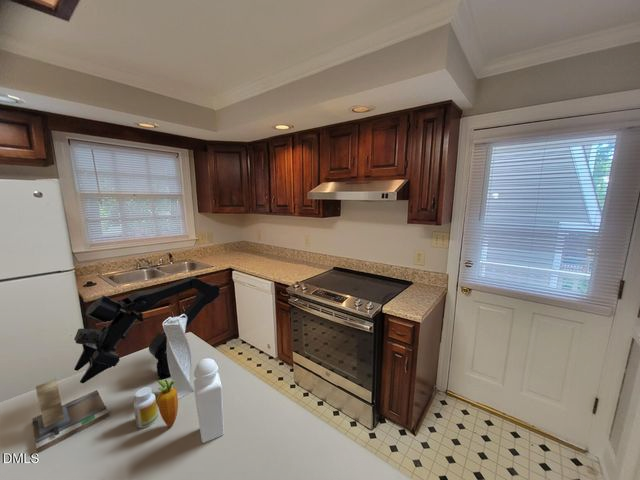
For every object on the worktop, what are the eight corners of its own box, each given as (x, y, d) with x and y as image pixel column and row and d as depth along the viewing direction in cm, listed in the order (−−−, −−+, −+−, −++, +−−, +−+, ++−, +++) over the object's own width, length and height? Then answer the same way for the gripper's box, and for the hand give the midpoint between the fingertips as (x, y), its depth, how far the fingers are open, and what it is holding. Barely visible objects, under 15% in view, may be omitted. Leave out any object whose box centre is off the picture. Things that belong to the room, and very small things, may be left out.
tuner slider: (66, 408, 81) (59, 374, 79) (72, 429, 74) (65, 391, 72) (37, 421, 77) (29, 385, 75) (41, 444, 69) (33, 405, 68)
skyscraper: (199, 391, 90) (191, 313, 86) (176, 403, 85) (166, 321, 80) (190, 380, 96) (182, 307, 91) (167, 391, 90) (157, 314, 86)
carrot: (184, 421, 78) (179, 375, 75) (170, 436, 73) (164, 387, 71) (171, 417, 79) (166, 372, 77) (156, 431, 75) (150, 383, 72)
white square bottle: (200, 446, 70) (192, 370, 67) (198, 427, 76) (191, 357, 72) (226, 435, 73) (219, 362, 70) (222, 418, 79) (216, 350, 75)
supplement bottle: (162, 414, 81) (158, 385, 79) (149, 429, 76) (145, 399, 74) (145, 413, 81) (141, 384, 80) (132, 428, 76) (127, 398, 75)
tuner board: (97, 394, 90) (96, 388, 90) (109, 416, 80) (108, 410, 80) (33, 423, 78) (31, 416, 78) (37, 453, 69) (36, 446, 69)
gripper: (86, 310, 87) (44, 356, 80) (100, 326, 75) (52, 382, 69) (118, 323, 94) (82, 367, 88) (135, 340, 82) (95, 392, 76)
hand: (78, 376), depth 80 cm, fingers open, 9 cm apart
